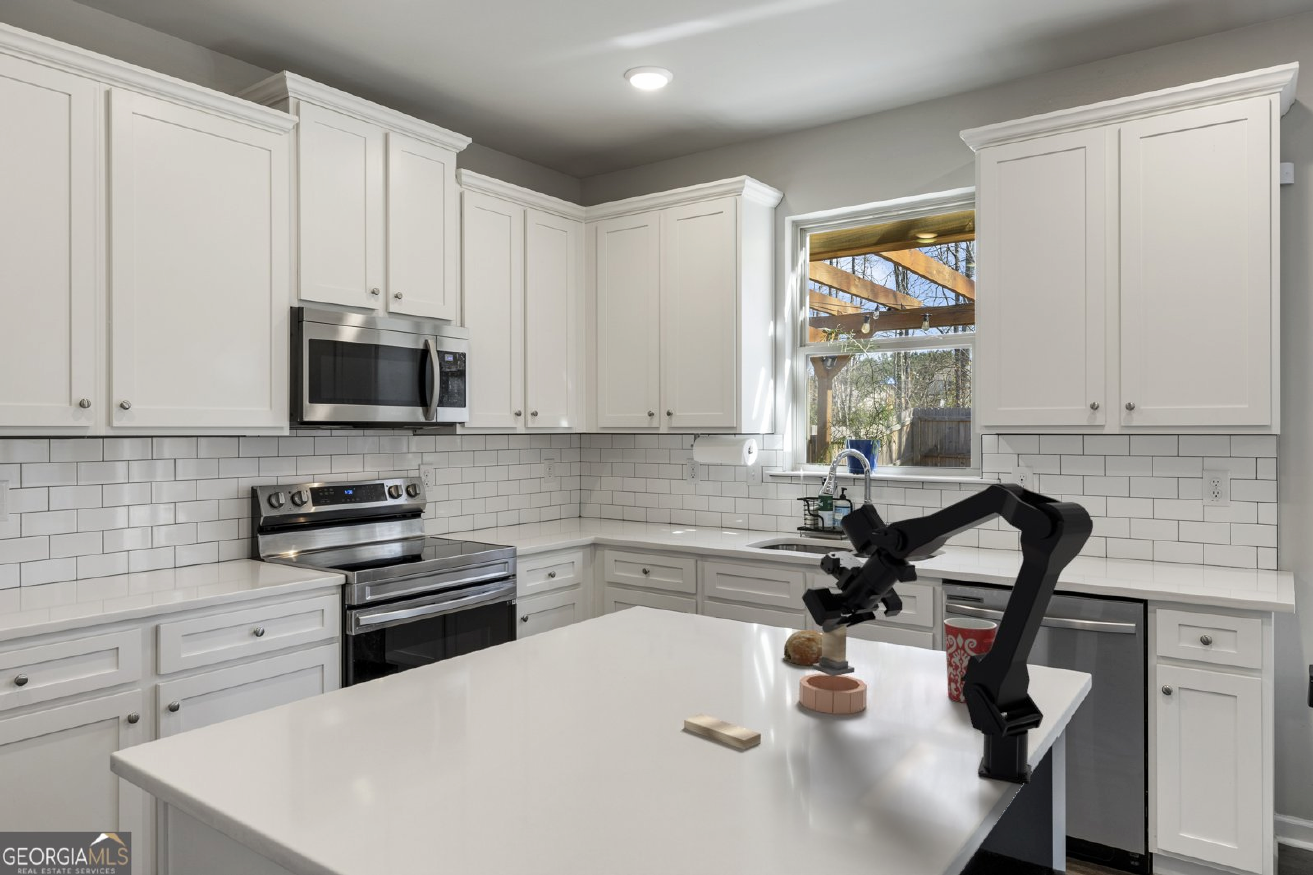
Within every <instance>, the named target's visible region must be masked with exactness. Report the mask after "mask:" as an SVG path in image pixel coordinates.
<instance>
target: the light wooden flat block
mask: <svg viewBox="0 0 1313 875" xmlns="http://www.w3.org/2000/svg"><path fill="white" fill-rule="evenodd" d="M683 728H684V729H685V730H689V731H691V732H694V733H697V734H699V735H701V736H705V737H708V738H710V739H713V740H717V741H719V742H722V743H725V744H728V745H730V746H733V747H736V748H740V749H742V750H746V749H748V748H751V747H753V746H756V745H758V744H761V742H762V738H761V737H762V734H761V733H760V732H757V731H754V730H751V729H748V728H744V727H742V726H740V725H739V726H738V725H736V724H733V723H730V722H727V721H723V720H721V719H718V718H715V717H711V716H709V715H705V714H702V713H699V714H697V715H694V716H691V717H688V718H685V719H684V721H683Z"/></svg>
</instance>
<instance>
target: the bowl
mask: <svg viewBox="0 0 1313 875" xmlns="http://www.w3.org/2000/svg"><path fill="white" fill-rule="evenodd" d="M798 683H799V688H798V689H799V690H798V692H799V693H798V695H799V696H798V698H799V699H798V700H799V702H800V703H801V705H802V706H803V707H805V708H807V709H810V710H812V711H815V712H820V713H821V712H822V713H827V714H834V715H838V714H839V715H840V714H841V715H842V714H843V715H844V714H849V715H851V714H854V713H859V712H862V711H864V710H865V708H866V707H867V701H868V700H867V699H868V698H867V694H868V692H867V691H868V686H867V684H866V683H865V682H864V681H863V680H862V679H859V678H857V677H853V676H850V675H846V674H842V675H837V676H831V675H828V674H826V673H813V674H808V675H804V676H803V677H801V678H800V679H799V682H798Z"/></svg>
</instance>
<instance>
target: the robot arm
mask: <svg viewBox="0 0 1313 875" xmlns="http://www.w3.org/2000/svg"><path fill="white" fill-rule="evenodd" d="M999 517H1002V518H1003V519H1004V521H1005V522H1007V523H1008V524H1009V525H1010V526H1012V527H1014V528H1015V529H1018V530H1019V531H1021V532H1020V537H1019V542H1020V547H1021V553H1022V563H1021V566H1020V568H1019V572H1018V573H1017V576H1016V578H1015V579H1016V580H1015V582H1014V585H1013V587H1012V591H1011V592H1010V595H1009V598H1008V601H1007V602H1006V605H1005V606H1006V607H1005V609H1004V612H1003V615H1002V616H1001V620H1000V622H999V625H998V626H997V629H996V630H997V631H996V633H995V638H994V641H993V644H992V646H991V649H990V650H989V652H988V653H984V654H978V655H973V656H971V657H970V659H969V661H968V665H967V670H966V673H965V674H964V676H963V677H962V678H961V681H965V682H964V684H963V688H962V695H963V697H964V698H965V701H966V703H965V704H966V707H967V711H968V715H969V719H970V722H971V723H970V724H971V726H972V728H973V729H974V730H977V731H979V732H980V733H981V734H982V735H983V747H982V748H983V751H982V752H983V753H982V754H983V756H981V760H980V763H979V766H978V769H977V774H978V775H979V776H981V777H988V778H993V779H997V780H1003V781H1008V782H1013V783H1019V784H1023V785H1024V784H1025V785H1029V784H1030V781H1031V774H1032V765H1031V764H1029V763H1028V761H1029V758H1028V757H1029V756H1028V755H1029V754H1028V753H1029V731H1030V730H1033V729H1038V728H1040V727H1041V723H1042V722H1043V720H1044V719H1043V718H1044V714H1043V712H1042V711H1041V710H1040V709H1039V706H1037V704H1036V702H1035V701H1034V700H1033V698H1032V697H1031V695H1030V694H1029V693H1028V692H1029V691H1028V690H1029V686H1030V681H1031V680H1030V675H1029V669H1028V658H1029V656H1030V654H1031V650H1032V648H1033V645H1034V643H1035V641H1036V638H1037V635H1038V632H1039V630H1040V628H1041V626H1042V623H1043V620H1044V617H1045V615H1046V612H1047V609H1048V607H1049V604H1050V602H1051V599H1052V597H1053V594H1054V591H1055V588H1056V586H1057V583H1058V581H1059V579H1060V576H1061V573H1062V571H1063V570H1064V569H1065V568H1066V567H1067V566H1068V565H1069V564H1070V563H1071V562H1072V561H1073V560H1074V559H1075V558H1076V557H1077V556H1078V555H1079V554H1080V553H1081V552H1082V549H1083V548H1084V546H1085V544H1086V543H1087V542H1088V539H1089V538H1090V537H1091V534H1092V532H1093V530H1094V522H1093V519H1092V518H1091V515H1090V513H1089V512H1088V511H1087V510H1086V508H1085V507H1084V506H1082V505H1081V504H1079V503H1076V502H1074V501H1066V502H1065V501H1064V502H1062V501H1061V500H1059V499H1057V498H1053V497H1050V496H1047V495H1044V494H1041V493H1039V492H1035V491H1033V490H1030V489H1028V488H1025V487H1023V486H1021V485H1019V484H1017V483H1013V482H1007V483H1006V482H1002V483H1001V482H1000V483H999V482H997V483H992V484H991V485H989V486H988V487H987V488H986V489H984V490H982V491H979V492H977V493H975V494H973V495H970V496H969V497H966V498H964V499H962V500H960V501H958V502H955V503H953V504H950V505H949V506H947V507H945V508H942V509H940V510H938V511H935V512H934V513H932V514H929V515H924V516H920V517H913V518H906V519H903V520H898V521H894V522H891V523H889V524H888V525H886V523H885V522H884V521H883V519H882V517H881V516H880V514H879V512H878V511H877V508H876V507H875V505H874V504H873V503H863V504H862V505H861V506H860V507H859V508H856V509H854V510H852V511H850V512H849V513H847V514H846V515H843V517H842V518H841V520H840V522H839V526H840V528H841V529H842V531H843V532H844V533H845V536H846V537H847V538H848V540H849V542H850V543H851V545H852V546H853V548H854V550H855V551H856V553H857V554H862V555H863V554H865V555H866V556H869V557H868V559H866V560H865V562H864V563H863V562H861V560H859V559H858V558H857V557H856V556H855V555H854V554H852V553H850V552H849V551H845V550H843V551H831V552H829V553H825V556H823V557H821V559H820V560H821V561H820V563H819V567H820V569H821V570H822V571H823V572H824V573H825V574H827V576H830V575H831V576H832V577H833V578H834V579H836V580H837V582H836V583H835V585H836V587H837V589H838V591H841V592H839V593H837V592H836V593H835V592H834V593H833V592H832V591H831V589H830V588H829V587H825V586H818V587H811V588H810V587H808V588H807V589H806V590H805V591H804V593H803V594H802V596H801V599H802V601H803V603H804V605H805V606H806V608H807V610H808V612H809V613H810V615H811V617H812V619H813V621H814V623H815V624H816V625H817V626H819V627H822V628H821V629H823V631H824V633H827V632H830V631H833V630H835V629H838V628H840V627H842V626H845V625H847V627H846V629H849V628H851V627H855V626H858V625H861V624H862V625H863V624H865V623H868V622H871V621H875V620H876V619H877V617H876V614H875V613H874V612H877V611H878V610H879V609H880V605H879V604H880V603H881V604H883V606H884V607H885V610H884V611H883V615H884V616H885V618H889V617H890V618H891V617H897V616H898V615H899V614H900V612H902V611H903V601H902V599H901V598H900V596H899V594H898V593H897V591H896V590H895V589H894V585H895V584H896V583H897V582H899V583H901V584H902V583H903V584H904V583H910V582H917V580H918V575H917V572H916V565H915V564H911V563H910V561H909V560H908V559H911V558H912V559H913V558H922V557H929V556H931V555H932V554H934V553H935V552H937V551H938V550H940V549H941V548H942V547H944V545H945V544H946V542H947V541H948V540H950V539H951V538H952V537H954V536H956V535H959V534H962V533H964V532H966V531H969V530H971V529H974V528H976V527H978V526H981V525H982V524H986V523H988V522H991V521H992V520H994V519H996V518H999ZM1005 713H1006V714H1005ZM1002 714H1005V715H1002Z"/></svg>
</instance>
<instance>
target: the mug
mask: <svg viewBox="0 0 1313 875" xmlns="http://www.w3.org/2000/svg"><path fill="white" fill-rule="evenodd" d="M943 624H944V631H945V634H944V635H945V637H944V638H945V654H946V656H945V658H946V673H947V674H946V675H947V676H946V678H947V695H948V697H949V698H950V699H951V700H954V701H956V702H959V703H965V704H966V701H965V698H964V697H963V695H962V688H963V684H964V682H965V681H961V678H962V677H963V676H964V674H965V673H966V670H967V665H968V661H969V659H970V657H971V656H973V655H978V654H984V653H988V652H989V650H990V649H991V646H992V644H993V641H994V638H995V636H996V633H997V631H996V630H997V629H998V624H996V623H995V622H993V621H990V620H989V621H988V620H986V619H985V620H983V619H977V618H970V617H969V618H968V617H965V618H964V617H953V618H951V617H950V618H947V619H945V620H943Z"/></svg>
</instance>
